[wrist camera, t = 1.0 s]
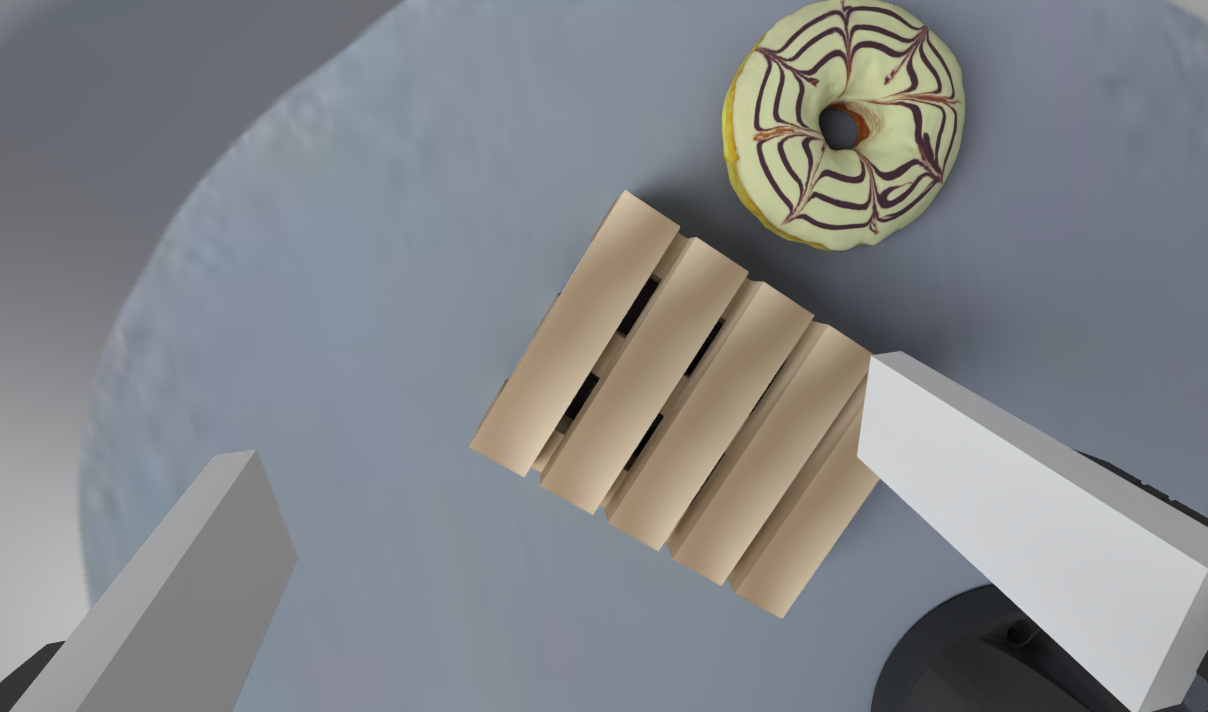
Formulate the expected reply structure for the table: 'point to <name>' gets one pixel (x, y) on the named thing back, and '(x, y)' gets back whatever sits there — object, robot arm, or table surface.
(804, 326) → the pallet
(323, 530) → the table surface
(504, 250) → the table surface
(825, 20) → the decorated donut
